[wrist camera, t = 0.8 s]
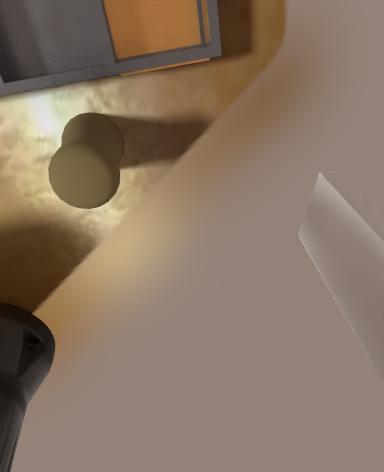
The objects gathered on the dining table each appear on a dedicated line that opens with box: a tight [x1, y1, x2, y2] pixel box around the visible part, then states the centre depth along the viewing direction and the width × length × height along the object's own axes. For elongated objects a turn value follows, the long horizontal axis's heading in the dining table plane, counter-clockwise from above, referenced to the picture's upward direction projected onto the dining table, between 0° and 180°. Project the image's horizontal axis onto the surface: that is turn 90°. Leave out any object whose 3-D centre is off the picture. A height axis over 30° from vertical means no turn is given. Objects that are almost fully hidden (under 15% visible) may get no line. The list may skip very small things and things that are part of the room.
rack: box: [0, 0, 222, 96], centre depth 25 cm, size 27×10×4 cm, turn 99°
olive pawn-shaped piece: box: [49, 113, 124, 209], centre depth 28 cm, size 6×6×11 cm
